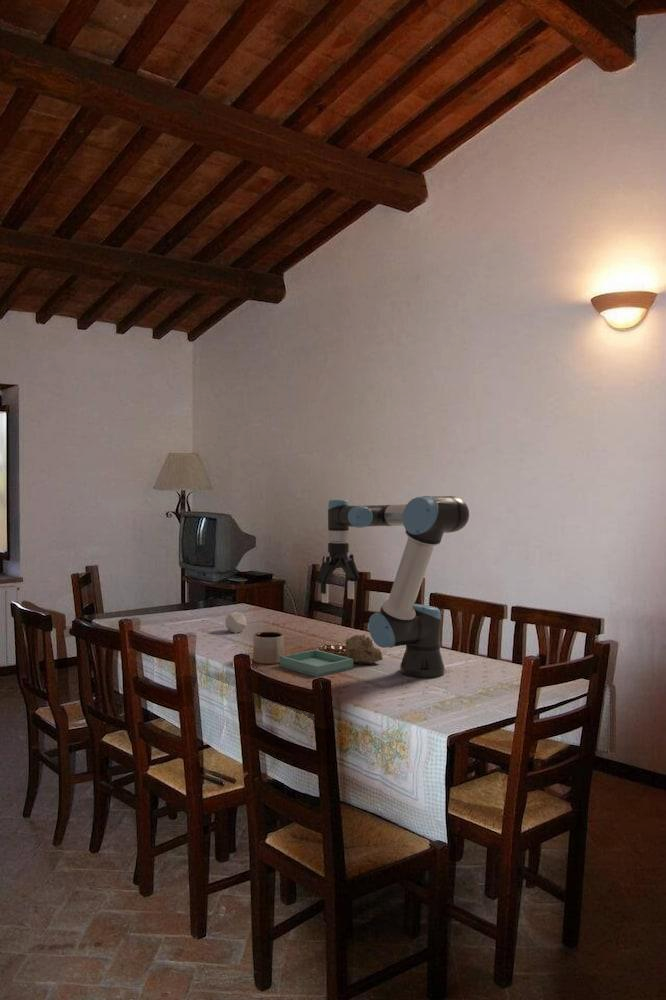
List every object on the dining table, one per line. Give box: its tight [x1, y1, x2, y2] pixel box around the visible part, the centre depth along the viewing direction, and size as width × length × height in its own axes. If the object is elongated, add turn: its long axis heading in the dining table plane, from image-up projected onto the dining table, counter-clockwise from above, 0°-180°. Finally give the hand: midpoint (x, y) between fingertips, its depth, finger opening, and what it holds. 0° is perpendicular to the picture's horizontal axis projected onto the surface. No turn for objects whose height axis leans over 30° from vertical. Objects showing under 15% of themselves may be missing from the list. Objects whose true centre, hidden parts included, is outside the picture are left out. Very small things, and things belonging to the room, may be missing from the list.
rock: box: [345, 634, 384, 665], centre depth 299 cm, size 11×12×10 cm
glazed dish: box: [279, 649, 354, 678], centre depth 290 cm, size 19×17×4 cm
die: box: [224, 611, 247, 634], centre depth 347 cm, size 8×9×10 cm
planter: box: [252, 631, 285, 665], centre depth 298 cm, size 11×11×10 cm
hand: (338, 600), depth 303 cm, fingers open, 13 cm apart
